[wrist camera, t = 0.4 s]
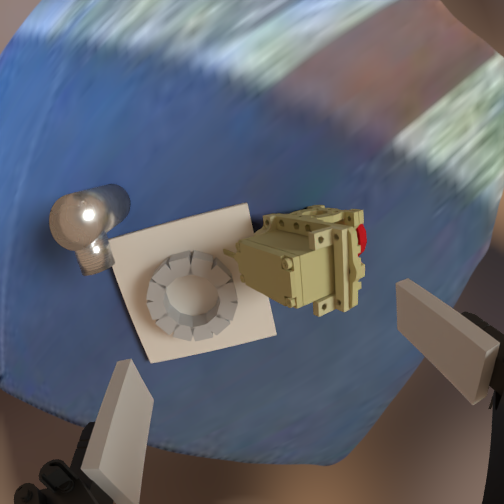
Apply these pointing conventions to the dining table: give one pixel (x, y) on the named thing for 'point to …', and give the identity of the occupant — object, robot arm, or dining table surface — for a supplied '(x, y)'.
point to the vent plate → (190, 285)
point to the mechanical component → (306, 258)
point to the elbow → (89, 224)
